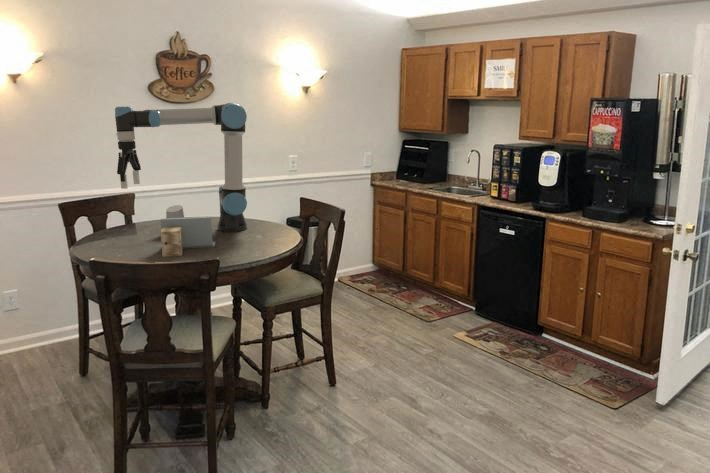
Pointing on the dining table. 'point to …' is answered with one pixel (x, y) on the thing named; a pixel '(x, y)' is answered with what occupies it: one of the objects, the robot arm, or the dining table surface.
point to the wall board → (192, 231)
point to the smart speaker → (175, 212)
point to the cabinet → (171, 241)
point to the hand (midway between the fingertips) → (130, 186)
